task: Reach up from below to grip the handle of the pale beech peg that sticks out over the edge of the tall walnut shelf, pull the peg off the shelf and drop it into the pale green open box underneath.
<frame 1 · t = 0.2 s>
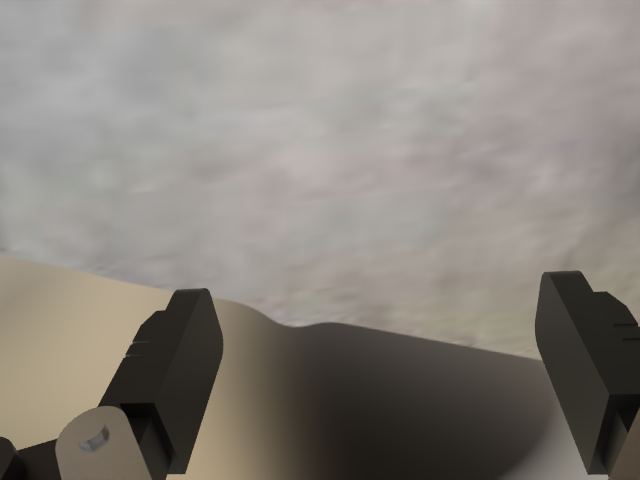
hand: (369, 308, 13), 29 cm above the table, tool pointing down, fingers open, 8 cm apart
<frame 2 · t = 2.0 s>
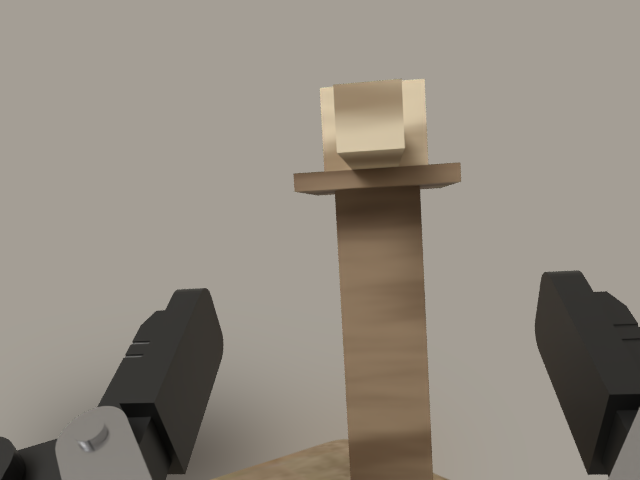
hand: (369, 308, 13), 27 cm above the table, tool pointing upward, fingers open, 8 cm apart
peg: (376, 173, 33), point 32 cm above the table, touching shelf stand
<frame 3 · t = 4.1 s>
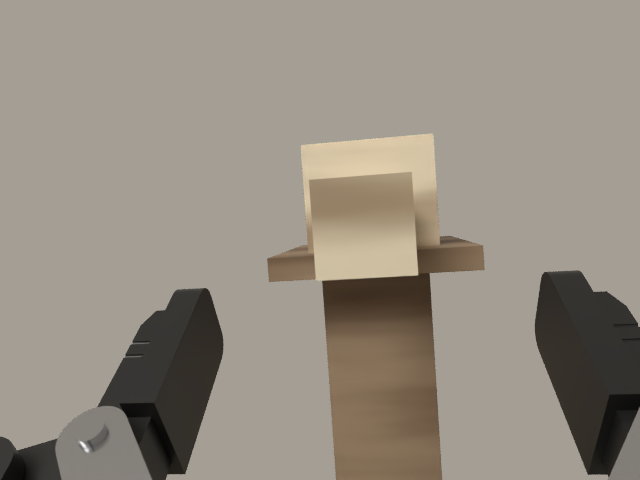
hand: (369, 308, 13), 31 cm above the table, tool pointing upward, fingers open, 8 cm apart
peg: (374, 245, 26), point 32 cm above the table, touching shelf stand
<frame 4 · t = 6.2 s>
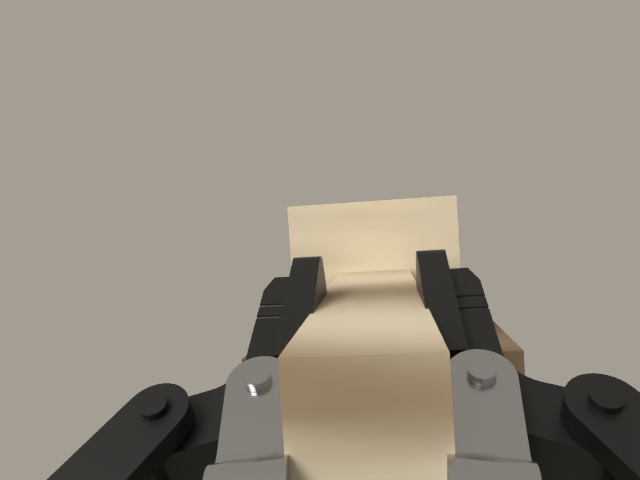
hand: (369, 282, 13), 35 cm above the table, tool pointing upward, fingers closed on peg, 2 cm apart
peg: (379, 322, 21), point 32 cm above the table, touching gripper, shelf stand
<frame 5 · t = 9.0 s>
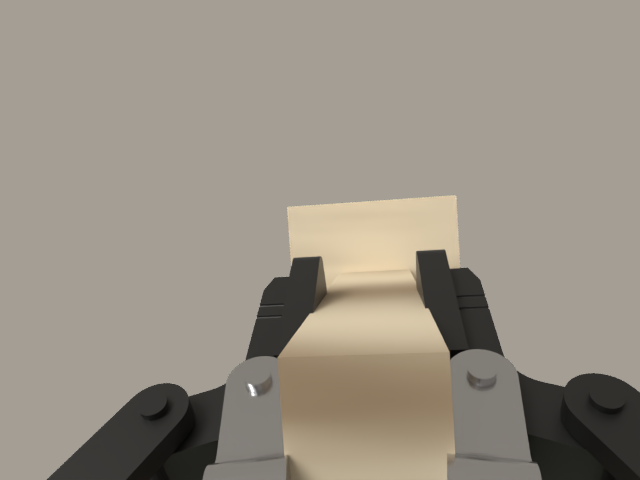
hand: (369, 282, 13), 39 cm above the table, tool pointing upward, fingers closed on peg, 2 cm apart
peg: (379, 322, 21), point 36 cm above the table, touching gripper
when the fingers open (26 cm above the table, at t = 11.8 s): peg drops 23 cm, resting on open box.
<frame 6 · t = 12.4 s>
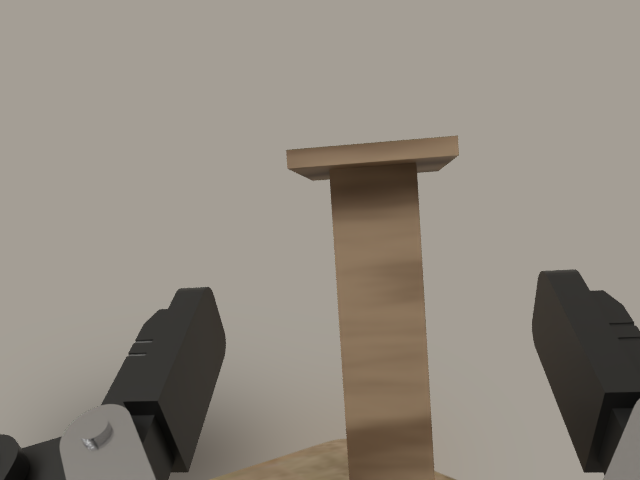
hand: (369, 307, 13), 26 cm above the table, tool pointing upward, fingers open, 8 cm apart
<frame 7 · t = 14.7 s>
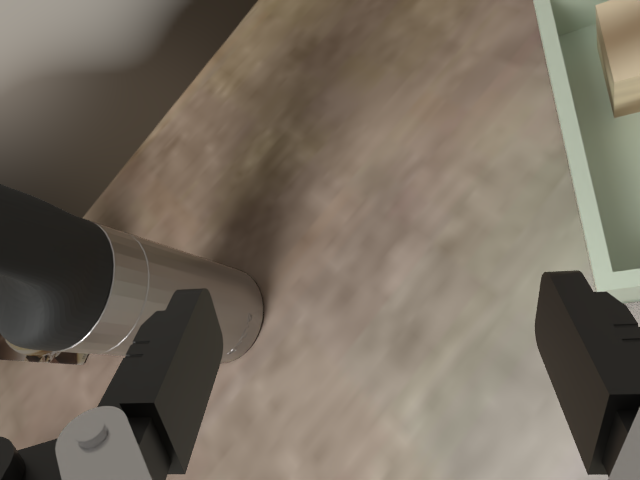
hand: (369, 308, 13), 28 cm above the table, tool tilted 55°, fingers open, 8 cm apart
coffee box: (87, 319, 60), on the table
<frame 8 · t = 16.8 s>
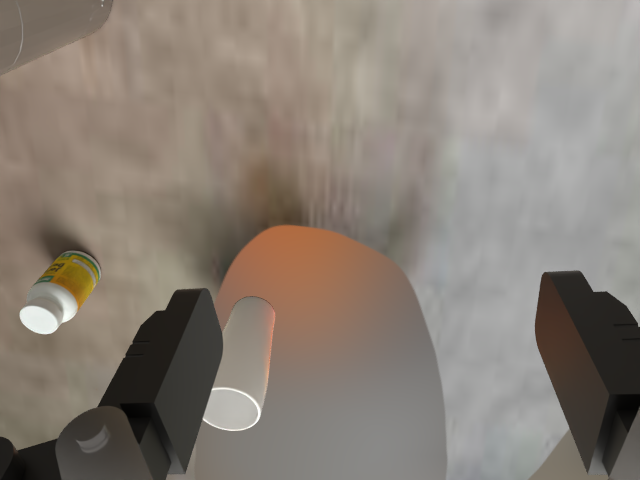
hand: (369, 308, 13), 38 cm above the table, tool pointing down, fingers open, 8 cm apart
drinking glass: (255, 309, 64), on the table
supplement bottle: (81, 266, 62), on the table
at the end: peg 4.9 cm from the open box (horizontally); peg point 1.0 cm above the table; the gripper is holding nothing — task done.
